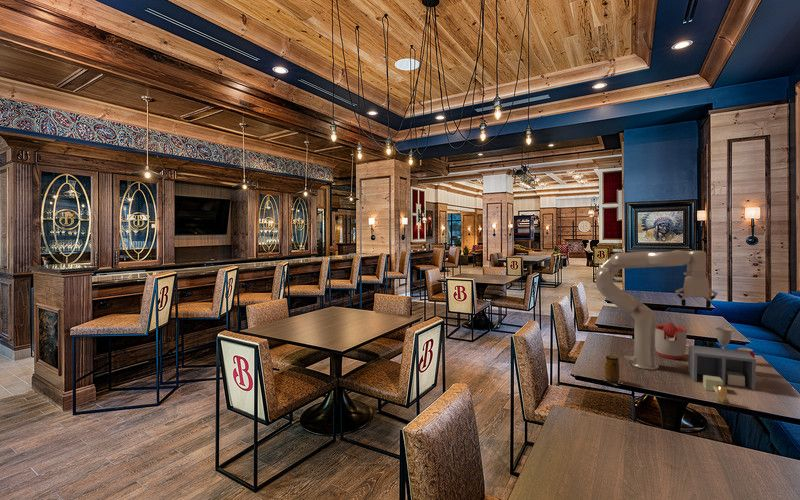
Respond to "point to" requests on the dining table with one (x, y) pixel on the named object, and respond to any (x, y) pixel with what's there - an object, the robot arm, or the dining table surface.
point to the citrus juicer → (670, 341)
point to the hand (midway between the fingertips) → (695, 307)
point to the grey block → (735, 378)
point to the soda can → (747, 351)
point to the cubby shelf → (721, 363)
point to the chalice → (723, 336)
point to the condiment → (612, 369)
